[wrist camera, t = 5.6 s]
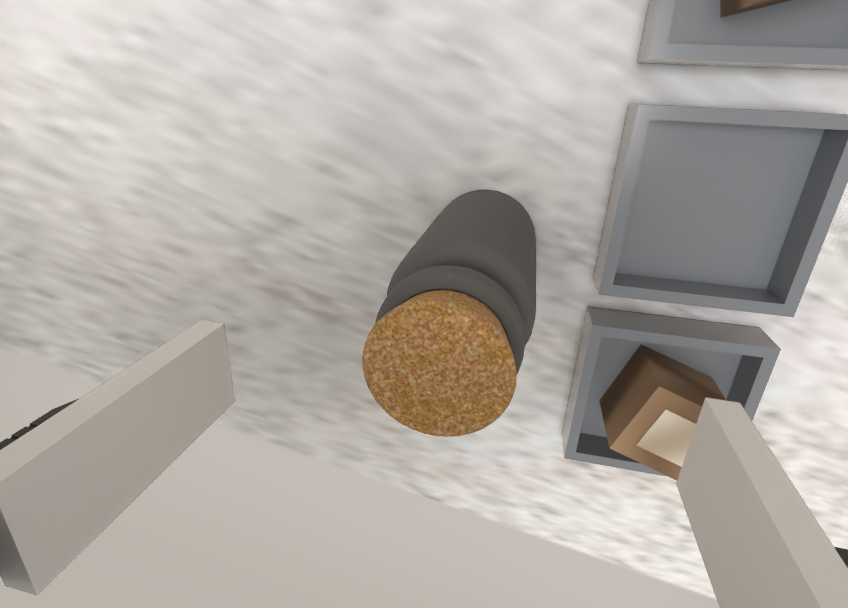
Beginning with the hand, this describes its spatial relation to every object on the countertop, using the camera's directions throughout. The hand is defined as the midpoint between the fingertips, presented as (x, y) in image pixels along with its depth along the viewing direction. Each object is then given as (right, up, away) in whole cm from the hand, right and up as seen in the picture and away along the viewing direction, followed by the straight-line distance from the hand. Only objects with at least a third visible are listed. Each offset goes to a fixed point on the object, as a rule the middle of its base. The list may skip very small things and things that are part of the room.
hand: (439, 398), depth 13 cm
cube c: (+13, -2, +15) cm, 21 cm away
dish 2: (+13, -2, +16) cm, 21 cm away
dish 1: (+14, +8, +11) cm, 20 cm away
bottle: (+3, +6, +15) cm, 16 cm away
